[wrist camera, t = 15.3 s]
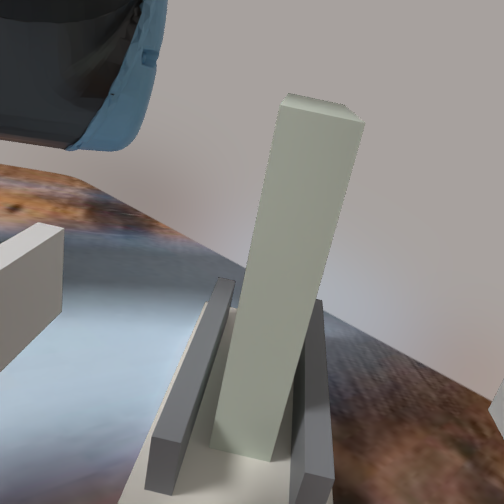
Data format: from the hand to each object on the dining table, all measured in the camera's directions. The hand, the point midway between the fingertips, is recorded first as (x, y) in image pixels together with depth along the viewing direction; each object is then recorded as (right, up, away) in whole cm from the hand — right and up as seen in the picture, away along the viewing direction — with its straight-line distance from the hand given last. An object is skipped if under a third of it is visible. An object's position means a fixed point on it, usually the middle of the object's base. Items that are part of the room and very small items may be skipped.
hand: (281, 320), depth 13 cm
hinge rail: (-1, -7, +13) cm, 15 cm away
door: (-1, -6, +13) cm, 14 cm away
